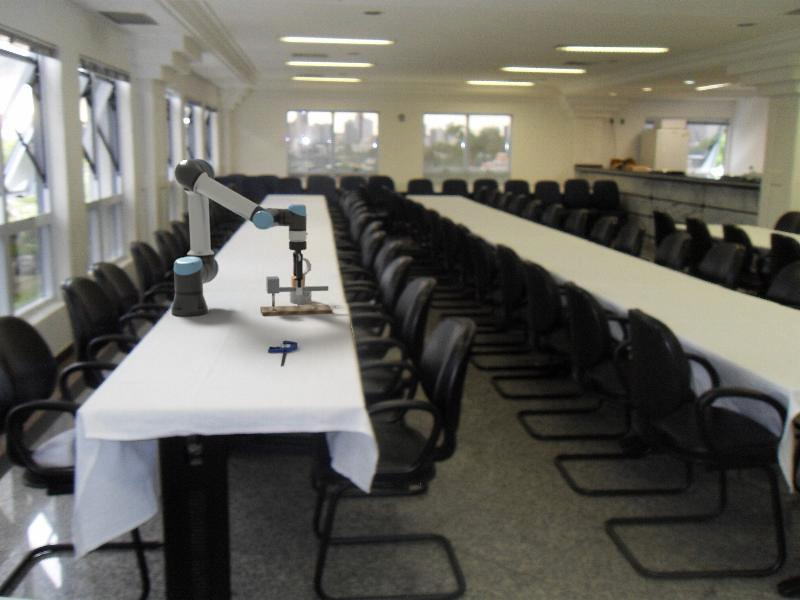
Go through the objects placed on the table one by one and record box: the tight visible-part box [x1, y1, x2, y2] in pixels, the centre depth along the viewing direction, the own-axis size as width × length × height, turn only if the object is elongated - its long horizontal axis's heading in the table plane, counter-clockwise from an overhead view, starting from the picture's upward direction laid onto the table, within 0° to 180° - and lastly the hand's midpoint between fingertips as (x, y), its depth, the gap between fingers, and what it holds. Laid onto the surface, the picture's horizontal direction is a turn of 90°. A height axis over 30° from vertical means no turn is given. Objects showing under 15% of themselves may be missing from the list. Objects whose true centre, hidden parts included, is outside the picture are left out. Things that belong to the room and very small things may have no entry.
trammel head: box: [290, 275, 306, 308], centre depth 346 cm, size 5×7×13 cm
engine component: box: [289, 257, 312, 305], centre depth 369 cm, size 11×20×10 cm
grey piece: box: [265, 275, 329, 310], centre depth 346 cm, size 26×7×14 cm, turn 104°
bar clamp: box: [267, 340, 298, 368], centre depth 272 cm, size 32×2×10 cm
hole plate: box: [260, 304, 333, 317], centre depth 348 cm, size 30×12×2 cm, turn 104°
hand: (298, 293), depth 347 cm, fingers closed on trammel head, 7 cm apart
